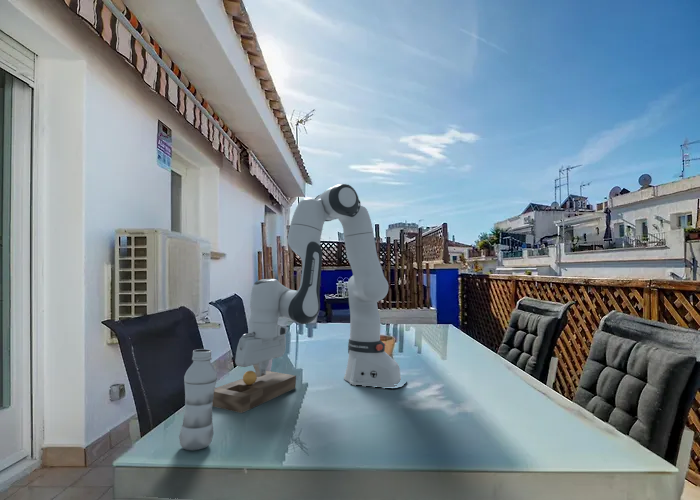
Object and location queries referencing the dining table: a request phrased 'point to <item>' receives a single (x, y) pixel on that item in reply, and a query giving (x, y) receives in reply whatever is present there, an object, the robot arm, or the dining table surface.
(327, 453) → the dining table surface
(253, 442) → the dining table surface
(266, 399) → the brown wooden holder
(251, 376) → the ball
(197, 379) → the plastic bottle
